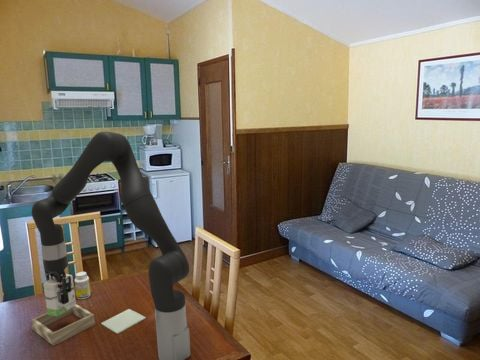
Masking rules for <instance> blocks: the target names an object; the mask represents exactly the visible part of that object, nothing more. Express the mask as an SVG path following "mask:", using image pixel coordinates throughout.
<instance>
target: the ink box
mask: <svg viewBox="0 0 480 360" xmlns="http://www.w3.org/2000/svg"><path fill="white" fill-rule="evenodd" d="M65 274H66V276H67V277H68V276H70V277H71V292H69V293H68V298H69V302H68V303H66V304H62V301H61V294H60V289H59V288H58V284H59V285H62V283H60V282H58V283H56V282H55V281H54V280H53V279H50V280H48V281H47V280H46V281H44V282H43V284H42V285H43V291H44V298H45V306H46V313H47V314H48V315H52V316H57V317H58V316H60V315H61V314H63V313H64V312H66V311H67V310H69V309H70V308H72V307H73V306H75V305H76V304H77V303H76V291H75V284H74V279H73V278H74V277H73V275H72V274H68V273H65ZM62 290H63V289H62Z"/></svg>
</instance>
